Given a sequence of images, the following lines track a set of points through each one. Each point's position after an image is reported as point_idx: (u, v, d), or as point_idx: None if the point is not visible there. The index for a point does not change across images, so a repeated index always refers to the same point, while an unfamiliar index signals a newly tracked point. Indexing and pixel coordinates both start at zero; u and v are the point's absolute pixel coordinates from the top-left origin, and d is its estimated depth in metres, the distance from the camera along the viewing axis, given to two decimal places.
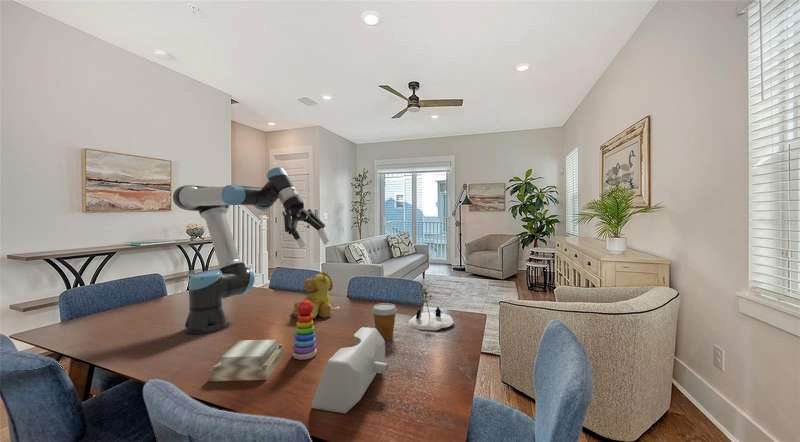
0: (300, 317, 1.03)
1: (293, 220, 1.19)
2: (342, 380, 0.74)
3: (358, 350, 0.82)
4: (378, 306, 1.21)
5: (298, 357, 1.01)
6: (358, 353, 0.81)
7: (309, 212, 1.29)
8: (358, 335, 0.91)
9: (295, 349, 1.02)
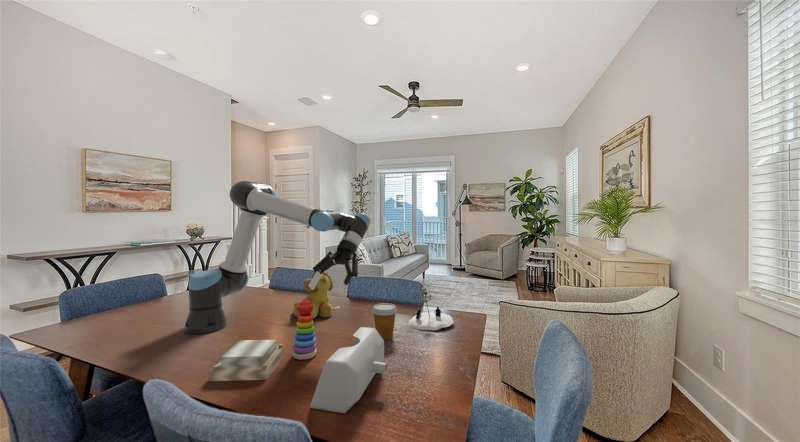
0: (300, 317, 1.03)
1: (348, 265, 1.19)
2: (341, 380, 0.74)
3: (357, 350, 0.82)
4: (378, 306, 1.21)
5: (298, 357, 1.01)
6: (357, 353, 0.81)
7: None
8: (357, 335, 0.91)
9: (295, 349, 1.02)
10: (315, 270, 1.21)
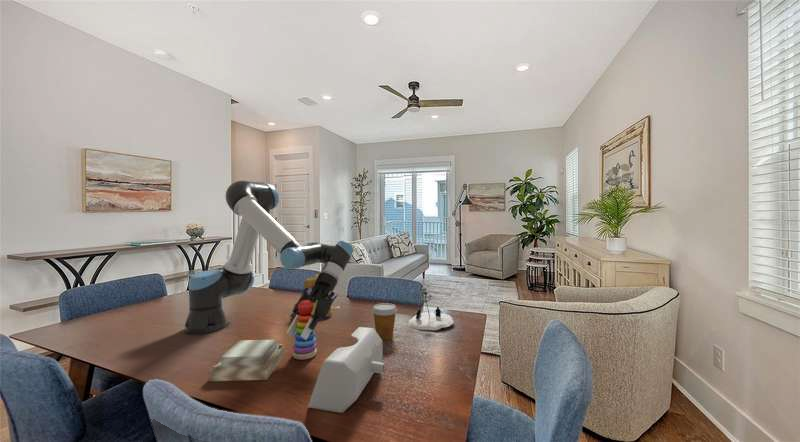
0: (300, 317, 1.03)
1: (321, 304, 1.08)
2: (339, 380, 0.74)
3: (355, 350, 0.82)
4: (378, 306, 1.21)
5: (298, 357, 1.01)
6: (355, 353, 0.81)
7: None
8: (355, 335, 0.91)
9: (295, 349, 1.02)
10: (295, 313, 1.07)
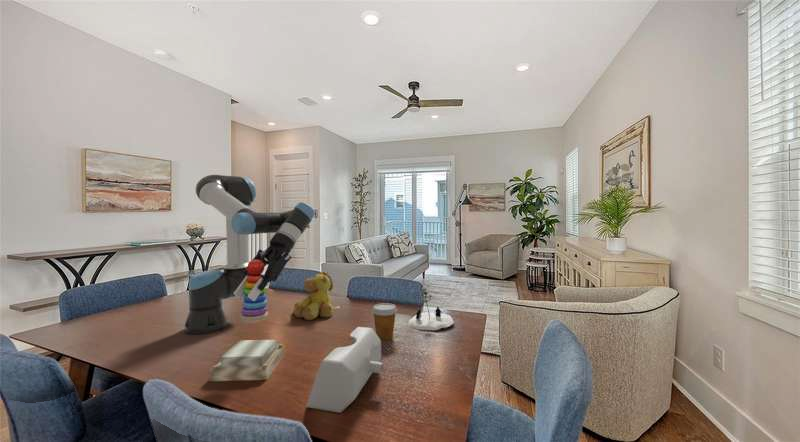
0: (249, 277, 0.95)
1: (274, 265, 1.00)
2: (337, 380, 0.74)
3: (353, 350, 0.82)
4: (378, 306, 1.21)
5: (246, 319, 0.94)
6: (354, 352, 0.81)
7: None
8: (354, 335, 0.91)
9: (243, 311, 0.95)
10: (245, 275, 0.99)
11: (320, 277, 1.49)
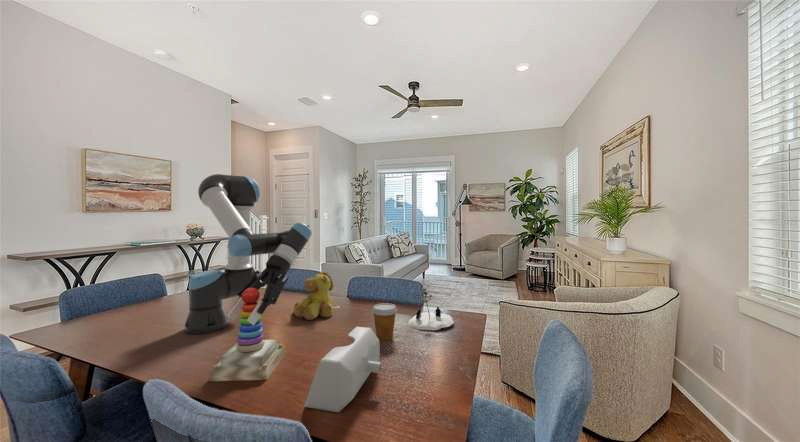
0: (244, 306, 0.95)
1: (272, 287, 1.00)
2: (335, 379, 0.74)
3: (352, 349, 0.82)
4: (378, 306, 1.21)
5: (241, 349, 0.94)
6: (352, 352, 0.81)
7: None
8: (352, 334, 0.91)
9: (238, 341, 0.94)
10: (239, 296, 1.00)
11: (320, 277, 1.49)
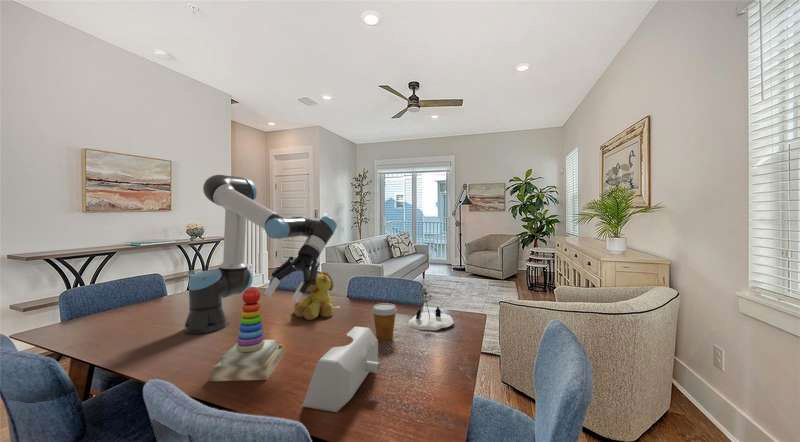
0: (244, 306, 0.95)
1: (308, 271, 1.13)
2: (333, 379, 0.74)
3: (350, 349, 0.82)
4: (378, 306, 1.21)
5: (241, 349, 0.94)
6: (350, 352, 0.81)
7: None
8: (351, 334, 0.91)
9: (238, 341, 0.94)
10: (273, 276, 1.16)
11: (320, 277, 1.49)
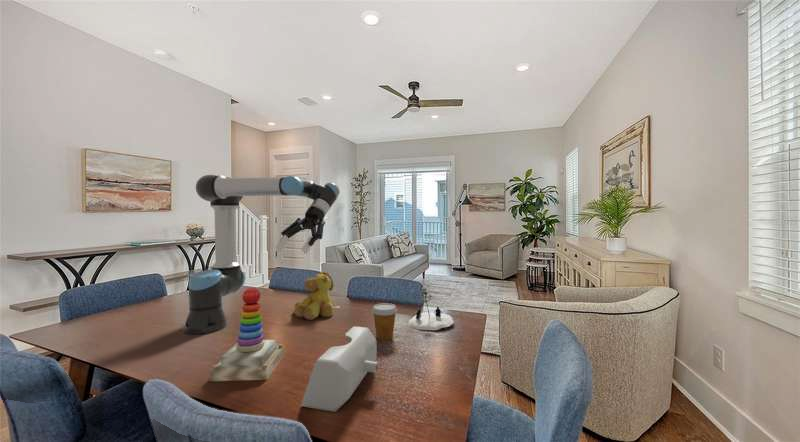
0: (244, 306, 0.95)
1: (314, 229, 1.25)
2: (331, 379, 0.74)
3: (348, 349, 0.82)
4: (378, 306, 1.21)
5: (241, 349, 0.94)
6: (348, 352, 0.82)
7: (301, 224, 1.32)
8: (349, 334, 0.92)
9: (238, 341, 0.94)
10: (283, 234, 1.27)
11: (321, 277, 1.49)
